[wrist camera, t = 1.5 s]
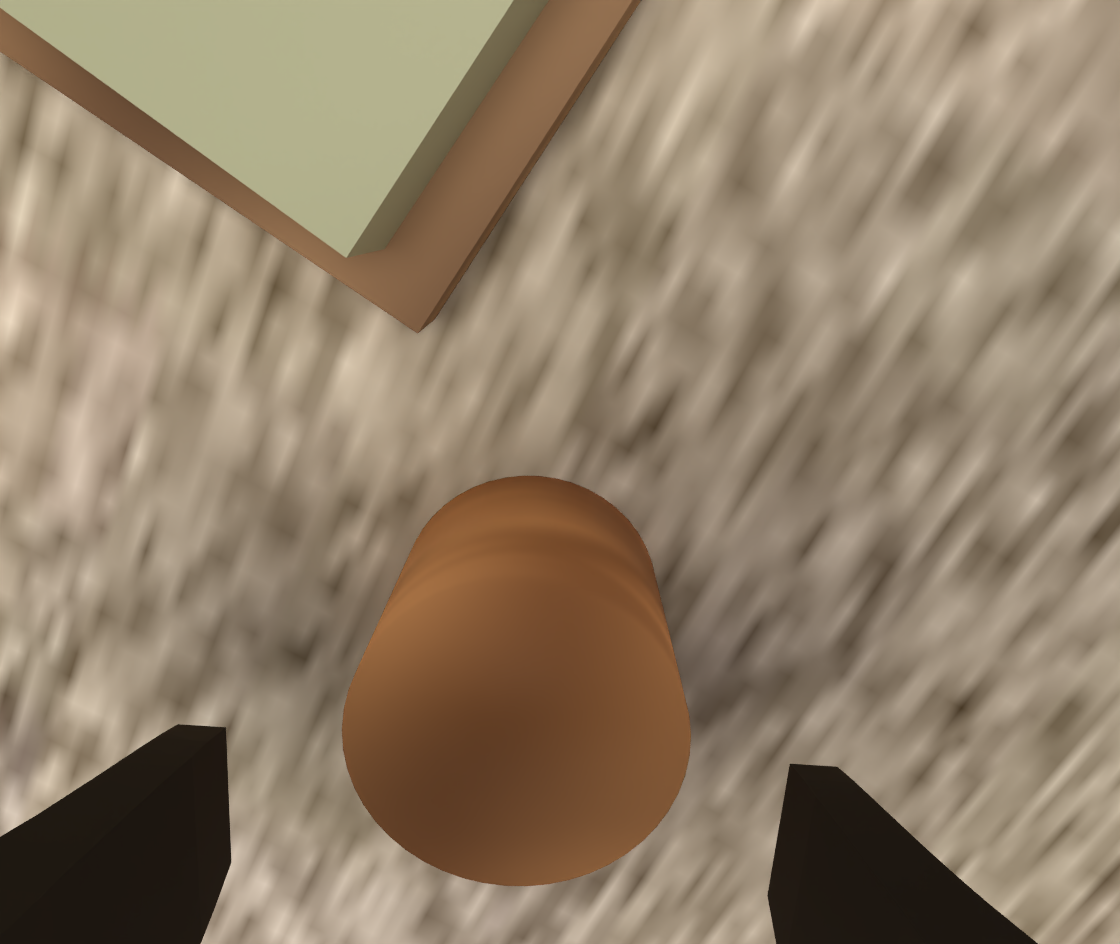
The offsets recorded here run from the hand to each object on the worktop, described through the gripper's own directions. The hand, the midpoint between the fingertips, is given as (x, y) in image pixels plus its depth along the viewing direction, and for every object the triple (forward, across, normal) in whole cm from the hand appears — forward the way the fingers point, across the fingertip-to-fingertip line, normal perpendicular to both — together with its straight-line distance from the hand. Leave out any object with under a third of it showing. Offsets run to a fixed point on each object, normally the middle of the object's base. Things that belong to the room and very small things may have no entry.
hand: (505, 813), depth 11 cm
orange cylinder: (+6, 0, 0) cm, 7 cm away
